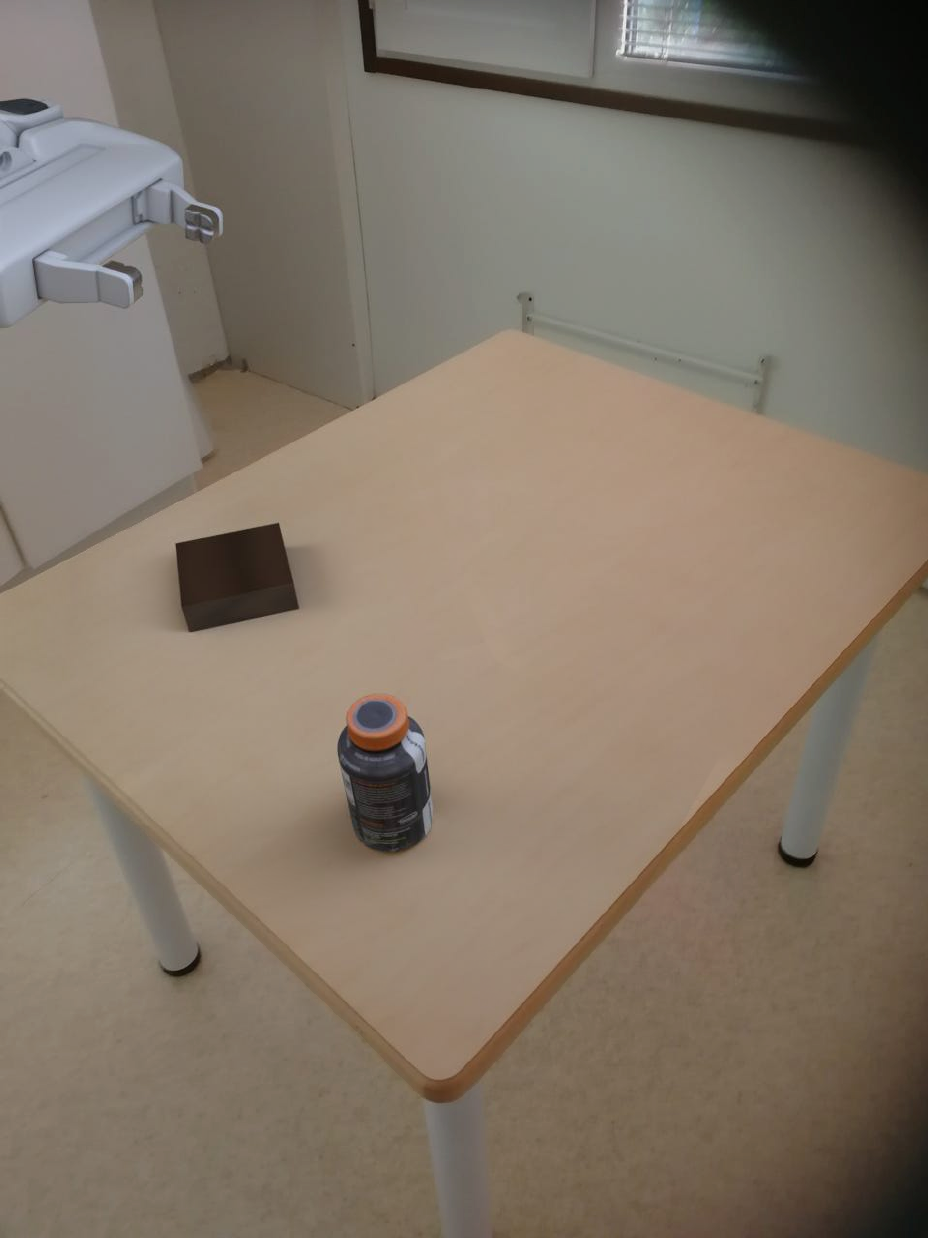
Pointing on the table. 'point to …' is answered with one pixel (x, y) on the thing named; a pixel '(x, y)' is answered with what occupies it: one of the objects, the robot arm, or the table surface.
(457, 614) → the table surface
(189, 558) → the walnut stand
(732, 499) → the table surface
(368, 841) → the pill bottle
